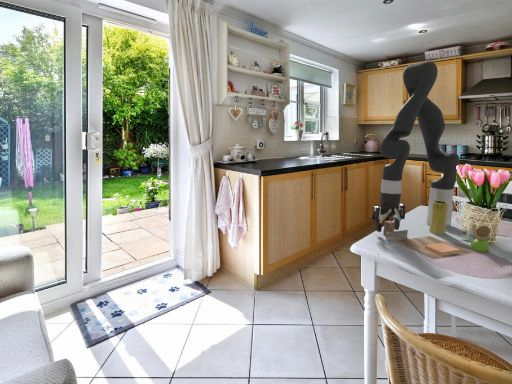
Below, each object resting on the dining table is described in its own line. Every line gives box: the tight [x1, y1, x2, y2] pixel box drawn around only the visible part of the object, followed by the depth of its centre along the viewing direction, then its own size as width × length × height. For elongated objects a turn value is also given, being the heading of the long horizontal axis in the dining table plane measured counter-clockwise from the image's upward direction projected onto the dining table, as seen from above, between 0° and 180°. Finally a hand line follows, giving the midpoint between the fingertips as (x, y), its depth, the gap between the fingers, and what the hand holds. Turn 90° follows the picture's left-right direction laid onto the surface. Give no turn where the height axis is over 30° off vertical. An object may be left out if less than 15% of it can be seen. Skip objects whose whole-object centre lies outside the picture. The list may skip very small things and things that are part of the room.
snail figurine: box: [470, 220, 491, 253], centre depth 111 cm, size 5×6×12 cm
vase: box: [428, 201, 448, 235], centre depth 130 cm, size 6×6×14 cm
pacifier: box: [459, 227, 475, 243], centre depth 124 cm, size 7×6×6 cm
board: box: [394, 235, 474, 260], centre depth 115 cm, size 18×18×2 cm
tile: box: [425, 243, 460, 256], centre depth 111 cm, size 8×1×7 cm
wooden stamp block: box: [382, 220, 408, 241], centre depth 125 cm, size 6×10×7 cm, turn 109°
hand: (387, 230), depth 128 cm, fingers open, 8 cm apart
